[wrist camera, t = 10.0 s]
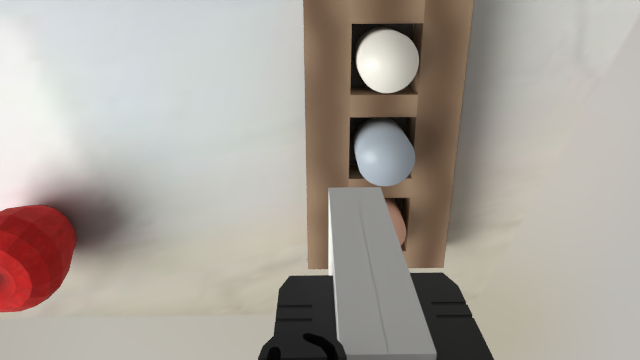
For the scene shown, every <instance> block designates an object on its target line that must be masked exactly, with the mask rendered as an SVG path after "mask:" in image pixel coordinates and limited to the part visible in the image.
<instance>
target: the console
mask: <svg viewBox="0 0 640 360" xmlns="http://www.w3.org/2000/svg"><path fill="white" fill-rule="evenodd" d="M473 3H474V0H303V7H304V63H305V119H306V175H307V231H308V269H328V240H329V188H343V187H381V190H382V193H383V196H384V198H402V202H401V216H402V218H403V221H404V224H405V227H406V237H405V240H404V242H403V244H402V245H401V249H402V252H403V255H404V258H405V261H406V264H407V267H408V268H444V259H445V250H446V241H447V232H448V223H449V215H450V206H451V197H452V188H453V179H454V171H455V162H456V153H457V144H458V135H459V127H460V118H461V109H462V100H463V91H464V82H465V74H466V65H467V56H468V47H469V38H470V30H471V21H472V12H473ZM393 23H414V27H413V41H412V42H413V43H414V45H415V46H416V49H417V51H418V55H419V66H418V70H417V73H416V75H415V77H414V78H413V80H412V81H411V82H410V85H409V86H406V87H405V88H403V89H401V90H399V91H397V92H393V93H381V92H377V91H375V90H373V89H371V88H370V87H369V86H364V87H351V36H352V24H393ZM350 117H407V129H406V137H407V138H408V140H409V141H410V143H411V144H412V146H413V148H414V152H415V164H414V167H413V169H412V171H411V173H410V174H409V175H408V176H407V177H406V178H405V179H404V180H403V181H401V182H400V183H398V184H395V185H392V186H378V185H374V184H372V183H370V182H369V181H367V180H366V179H365V178H364V177H363V176H362V174H361V173H360V171H359V168H358V164H349V138H350Z"/></svg>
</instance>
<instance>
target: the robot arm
mask: <svg viewBox="0 0 640 360" xmlns="http://www.w3.org/2000/svg"><path fill="white" fill-rule="evenodd" d="M328 269H329V275H323V276H289V277H288V279H287V280H286V281H285V283H284V284H283V285H282V286H281V288H280V289H279V295H278V303H277V312H276V322H275V329H274V336H273V337H272V338H271V339H270V340H269V341H268V342H267V343H266V344H265V345H264V346H263V348H262V350H261V353H260V355H259V357H258V360H494V359H493V357H492V354H491V352H490V350H489V348H488V346H487V345H486V342H485V340H484V338H483V337H482V334H481V332H480V330H479V328H478V326H477V324H476V322H475V320H474V318H472V313H471V311H470V309H469V307H468V305H466V301H465V299H464V297H463V295H462V293H461V291H460V289H459V287H458V285H456V284H455V283H454V282H453V281H452V280H451V279H449V278H448V277H447V276H446V275H445V274H444V273H409V270H408V267H407V264H406V261H405V258H404V255H403V252H402V249H401V246H400V243H399V240H398V237H397V234H396V231H395V228H394V225H393V222H392V219H391V216H390V213H389V210H388V207H387V205H386V202H385V199H384V196H383V193H382V190H381V187H343V188H329V240H328Z"/></svg>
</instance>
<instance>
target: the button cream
mask: <svg viewBox="0 0 640 360" xmlns="http://www.w3.org/2000/svg"><path fill="white" fill-rule="evenodd" d="M354 63H355V66H356V68H357V70H358V72H359V74H360V76H361V77H362V79H363V81H364V82H365V83H366V84H367V85H368V86H369V87H370V88H371V89H373V90H375V91H377V92H381V93H393V92H397V91H399V90H401V89H403V88H405V87H406V86H407V85H408V84H409V83H410V82H411V81H412V80H413V78H414V77H415V75H416V73H417V70H418V66H419V55H418V51H417V49H416V46H415V45H414V43H413V42H412V41H411V40H410V39H409V38H408V37H407V36H405V35H403V34H401V33H399V32H397V31H395V30H393V29H391V28H387V27H377V28H373V29H371V30H369V31H367V32H366V33H364V34H363V35H362V36H361V37H360V39H359V40H358V42H357V44H356V46H355V50H354Z"/></svg>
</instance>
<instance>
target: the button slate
mask: <svg viewBox="0 0 640 360" xmlns="http://www.w3.org/2000/svg"><path fill="white" fill-rule="evenodd" d="M353 148H354V152H355V156H356V160H357V164H358V168H359V171H360V173H361V174H362V176H363V177H364V178H365V179H366V180H367V181H369V182H370V183H372V184H374V185H378V186H392V185H395V184H398V183H400V182H401V181H403V180H404V179H405V178H406V177H407V176H408V175H409V174H410V173H411V171H412V169H413V167H414V164H415V152H414V148H413V146H412V144H411V143H410V141H409V140H408V138H407V137H406V135H405V133H404V132H403V130H402V129H401V127H400V126H399V125H398V124H397V123H396V122H395V121H393V120H391V119H389V118H385V117H375V118H371V119H369V120H367V121H365V122H364V123H362V124H361V125H360V126H359V127H358V129H357V130H356V132H355V135H354V138H353Z"/></svg>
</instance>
